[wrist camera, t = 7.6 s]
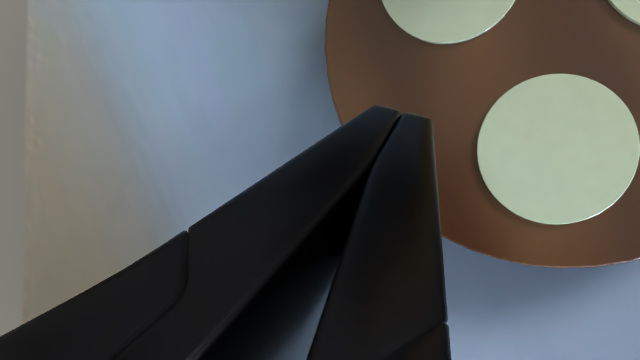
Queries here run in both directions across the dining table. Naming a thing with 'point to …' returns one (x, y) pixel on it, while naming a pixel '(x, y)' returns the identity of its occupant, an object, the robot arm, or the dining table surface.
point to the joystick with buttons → (510, 115)
